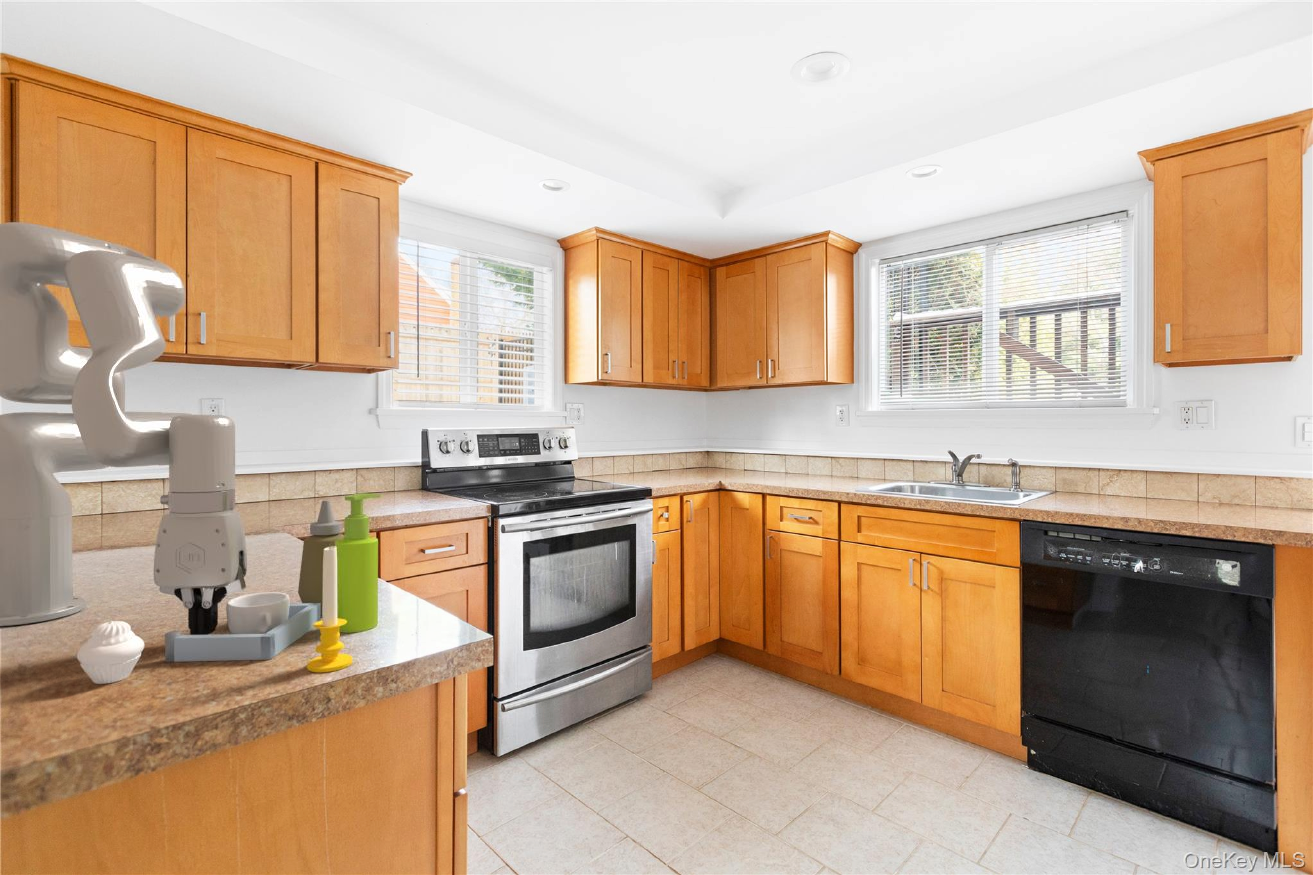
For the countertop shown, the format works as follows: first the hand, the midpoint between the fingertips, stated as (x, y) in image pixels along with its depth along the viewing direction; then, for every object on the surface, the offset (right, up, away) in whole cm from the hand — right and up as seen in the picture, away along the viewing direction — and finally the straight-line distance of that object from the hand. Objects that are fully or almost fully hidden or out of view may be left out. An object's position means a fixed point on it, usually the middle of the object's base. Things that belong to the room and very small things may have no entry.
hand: (203, 633), depth 90 cm
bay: (+6, -1, +1) cm, 6 cm away
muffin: (-2, -2, -13) cm, 13 cm away
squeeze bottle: (+9, -1, +15) cm, 18 cm away
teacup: (+7, -1, +2) cm, 7 cm away
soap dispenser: (+18, -1, +8) cm, 20 cm away
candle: (+22, -2, -8) cm, 23 cm away
